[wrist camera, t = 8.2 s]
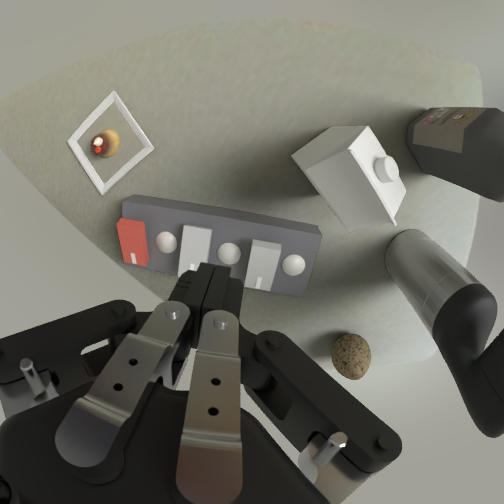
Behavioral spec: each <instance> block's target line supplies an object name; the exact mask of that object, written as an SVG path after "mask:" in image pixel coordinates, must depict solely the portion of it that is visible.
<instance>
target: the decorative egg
mask: <svg viewBox="0 0 504 504" xmlns="http://www.w3.org/2000/svg"><path fill="white" fill-rule="evenodd" d="M331 355H332V362H333V365H334V367H335V368H336V370H337V371H338V372H339V373H340V374H341V375H342V376H344V377H346V378H349V379H351V380H358V379H360V378H361V377H363V376H364V375H365V373H366V372H367V370H368V368H369V365H370V361H371V351H370V348H369V345H368V343H367V342H366V340H365V339H364V338H362V337H361V336H359V335H357V334H346V335H343V336H341V337H340V338H339V339H337V341H336V342H335V343H334V345H333V348H332V354H331Z"/></svg>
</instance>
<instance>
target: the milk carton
mask: <svg viewBox="0 0 504 504" xmlns="http://www.w3.org/2000/svg"><path fill="white" fill-rule="evenodd" d="M291 157H292V158H293V160H294V161H295V162H296V163H297V165H298V166H299V167H300V169H301V170H302V171H303V173H304V174H305V175H306V177H307V178H308V179H309V181H310V182H311V183H312V185H313V186H314V187H315V189H316V190H317V192H318V193H319V194H320V195H321V197H322V198H323V199H324V200H325V202H326V203H327V204H328V206H329V207H330V208H331V209H332V211H333V212H334V213H335V215H336V216H337V217H338V219H339V220H340V221H341V223H342V224H343V225H344V227H345V228H346V229H347V230H348V232H353V231H357V230H361V229H365V228H369V227H373V226H377V225H381V224H385V223H389V222H391V223H392V224H393V225H394V226H396V225H397V223H396V221H395V220H394V216H395V214H396V212H397V210H398V208H399V206H400V204H401V202H402V200H403V198H404V195H405V193H406V189H405V187H404V185H403V183H402V181H401V179H400V177H399V170H398V166H397V164H396V162H395V161H394V159H393V158H392V157H391V156H387V154H386V153H385V151H384V149H383V148H382V146H381V145H380V143H379V141H378V140H377V138H376V137H375V135H374V134H373V132H372V131H371V129H370V128H369V127H368V126H338V127H330V128H328V129H327V130H326V131H324V132H323V133H321V134H320V135H319V136H317V137H316V138H314V139H313V140H312V141H310V142H309V143H307V144H306V145H305V146H303V147H302V148H300V149H299V150H298V151H296V152H295V153H294V154H292V155H291Z"/></svg>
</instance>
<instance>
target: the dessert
mask: <svg viewBox="0 0 504 504" xmlns="http://www.w3.org/2000/svg"><path fill="white" fill-rule="evenodd" d="M113 102H115V104H116V105H117V107H118V108H119V110H120V111H121V113H122V114H123V116H124V117H125V119H126V120H127V121H128V123H129V124H130V126H131V127H132V129H133V130H134V132H135V133H136V134H137V136H138V137H139V139H140V140H141V142H142V143H143V145H144V146H145V147H144V148H143V149H142V150H141V151H140V152H139V153H138V154H136V155H135V156H134V157H133V158H132V159H131V160H130V161H129V162H128V163H126V164H125V165H124V166H123V167H122V168H121V169H120V170H119V171H118V172H117V173H116V174H115V175H114V176H112V177H111V178H110V179H109V180H108V181H107V182H106V183H105V184H104V183H103V182H102V180H101V179H100V177H99V176H98V174H97V173H96V171H95V170H94V168H93V167H92V165H91V164H90V162H89V161H88V159H87V157H86V156H85V154H84V153H83V151H82V150H81V148H80V146H79V145H78V143H77V140H78V139H79V138H80V136H81V135H82V134H83V133H84V132H85V131H86V130H87V129H88V127H89V126H90V125H91V124H92V123H93V122H94V121H95V120H96V119H97V118H98V117H99V116H100V115H101V114H102V113H103V112H104V111H105V110H106V109H107V108H108V107H109V106H110V105H111V104H112V103H113ZM67 143H68V144H69V146H70V148H71V149H72V151H73V153H74V154H75V156H76V157H77V159H78V160H79V162H80V164H81V165H82V167H83V168H84V170H85V171H86V173H87V174H88V176H89V177H90V179H91V180H92V182H93V183H94V185H95V186H96V188H97V189H98V191H99V192H100V194H101V195H102V196H103V195H104V194H105V193H106V192H107V191H108V190H109V189H110V188H111V187H112V186H113V185H114V184H115V183H116V182H117V181H118V180H119V179H120V178H122V177H123V176H124V175H125V174H126V173H127V172H128V171H129V170H130V169H131V168H133V167H134V166H135V165H136V164H137V163H138V162H139V161H141V160H142V159H143V158H144V157H145V156H146V155H148V154H149V153H150V152H151V151H152V150H154V147H153V145H152V144H151V143H150V141H149V140H148V138H147V137H146V135H145V134H144V133H143V131H142V130H141V128H140V127H139V125H138V124H137V122H136V121H135V120H134V118H133V117H132V115H131V114H130V112H129V111H128V109H127V108H126V107H125V105H124V104H123V102H122V101H121V99H120V98H119V96H118V95H117V93H116V92H115V91H113V92H112V93H111V94H109V95H108V96H107V97H106V98H105V99H104V100H103V101H102V102H101V103H100V104H99V105H98V106H97V108H96V109H95V110H94V111H93V112H92V113H91V114H90V115H89V116H88V117H87V118H86V119H85V120H84V121H83V123H82V124H81V125H80V126H79V127H78V128H77V129H76V131H75V132H74V133H73V134H72V135H71V136H70V138H69V139H68V140H67ZM119 146H120V139H119V136H118V134H117V133H116V132H115V131H114V130H112V129H106V130H104V131H102V132H101V133H99V134H98V135H96V136H95V137H94V138H93V139H92V141H91V149H92V151H93V153H94V154H96V155H100V156H103V157H112V156H113V155H115V154H116V152H117V151H118V149H119Z"/></svg>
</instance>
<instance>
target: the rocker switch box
mask: <svg viewBox="0 0 504 504" xmlns="http://www.w3.org/2000/svg"><path fill="white" fill-rule="evenodd" d="M122 218H124V219H130V220H136V221H142V222H144V224H145V232H146V240H147V248H148V255H149V261H148V263H147V265H146V266H141V265H137V264H132V263H127V262H124V258H123V264H126V265H131V266H136V267H140V268H145V269H150V270H154V271H159V272H164V273H169V274H174V275H178V269H179V260H180V252H181V244H182V236H183V228H184V225H185V224H190V225H196V226H202V227H207V228H213V231H212V237H211V244H210V250H209V257H208V263H210V264H216V265H222V266H227V267H231V274H230V277H231V278H237V279H241V281H242V283H243V285H244V284H245V278H246V273H247V268H248V263H249V258H250V253H251V247H252V242H253V239H255V240H260V241H266V242H271V243H277V244H281V253H280V257H279V261H278V264H277V268H276V271H275V275H274V279H273V282H272V286H271V289H270V291H267V290H261V289H255V288H249V287H244V288H249V289H254V290H260V291H266V292H272V293H278V294H284V295H291V296H297V297H304V295H305V292H306V289H307V285H308V282H309V279H310V276H311V272H312V269H313V266H314V262H315V259H316V256H317V252H318V249H319V245H320V242H321V238H322V234H321V232H320V230H319V228H318V226H316V225H312V224H307V223H302V222H297V221H291V220H286V219H281V218H276V217H270V216H265V215H260V214H254V213H249V212H243V211H237V210H231V209H226V208H220V207H214V206H207V205H201V204H195V203H189V202H182V201H176V200H169V199H162V198H155V197H148V196H141V195H133V196H131V197H129V198H127V199H126V200H124V201H122Z"/></svg>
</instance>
